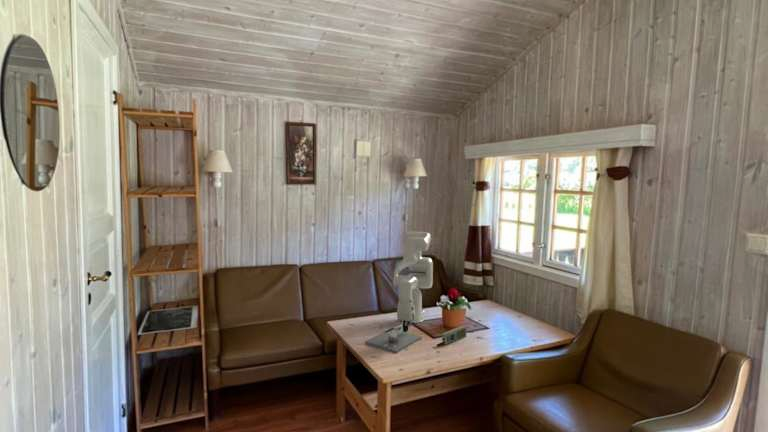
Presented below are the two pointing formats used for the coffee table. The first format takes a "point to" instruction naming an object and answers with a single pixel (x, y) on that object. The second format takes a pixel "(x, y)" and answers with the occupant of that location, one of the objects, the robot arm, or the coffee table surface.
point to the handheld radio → (453, 335)
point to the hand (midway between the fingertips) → (405, 331)
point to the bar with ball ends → (394, 332)
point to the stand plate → (402, 342)
